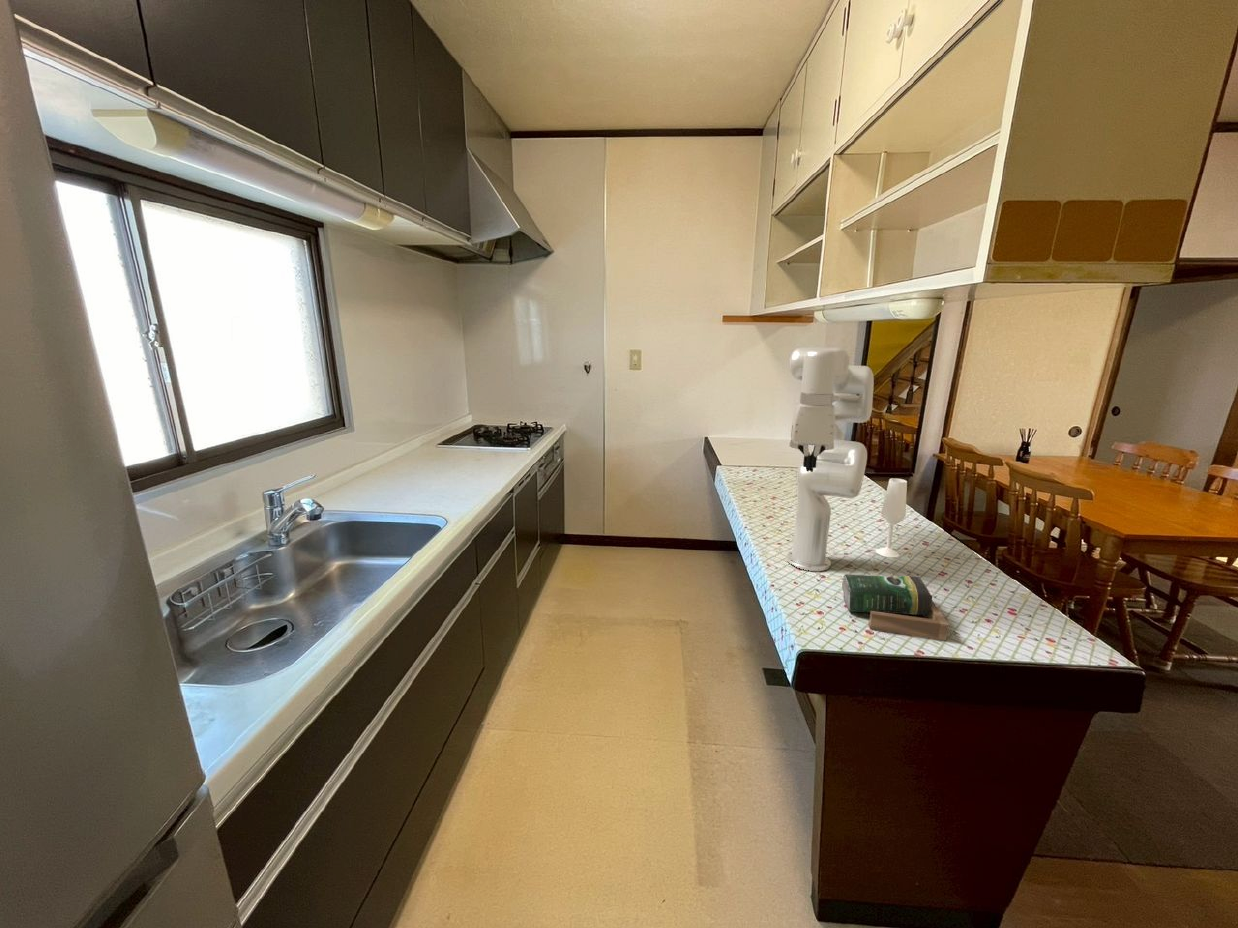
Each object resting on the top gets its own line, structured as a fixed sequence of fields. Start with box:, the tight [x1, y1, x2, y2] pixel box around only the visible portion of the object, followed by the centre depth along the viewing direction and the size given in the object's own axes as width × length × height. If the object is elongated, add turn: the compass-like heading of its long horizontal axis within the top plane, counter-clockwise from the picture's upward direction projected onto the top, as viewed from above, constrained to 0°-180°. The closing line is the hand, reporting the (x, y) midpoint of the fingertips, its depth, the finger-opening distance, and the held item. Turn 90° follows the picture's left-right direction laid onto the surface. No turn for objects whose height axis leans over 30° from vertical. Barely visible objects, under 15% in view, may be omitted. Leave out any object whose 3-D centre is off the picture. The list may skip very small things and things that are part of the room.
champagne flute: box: [875, 477, 908, 558], centre depth 153 cm, size 7×7×24 cm
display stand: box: [868, 599, 949, 641], centre depth 120 cm, size 18×16×4 cm
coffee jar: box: [841, 573, 933, 616], centre depth 121 cm, size 10×8×19 cm
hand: (809, 470), depth 128 cm, fingers closed
